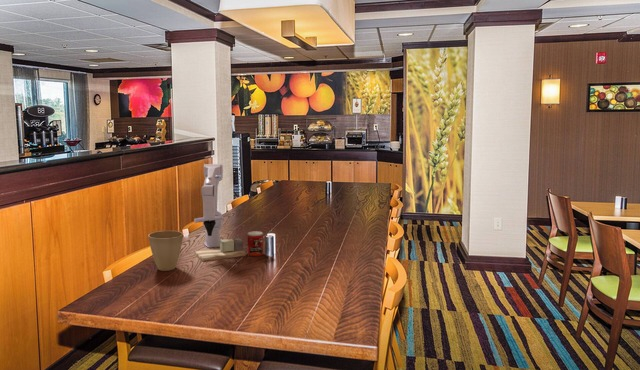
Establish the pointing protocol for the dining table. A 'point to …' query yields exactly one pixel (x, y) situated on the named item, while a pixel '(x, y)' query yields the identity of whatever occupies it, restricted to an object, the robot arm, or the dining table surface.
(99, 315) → the dining table surface
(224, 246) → the pale green cube
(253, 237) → the canned food
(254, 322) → the dining table surface
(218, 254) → the stud board
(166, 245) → the plant pot
